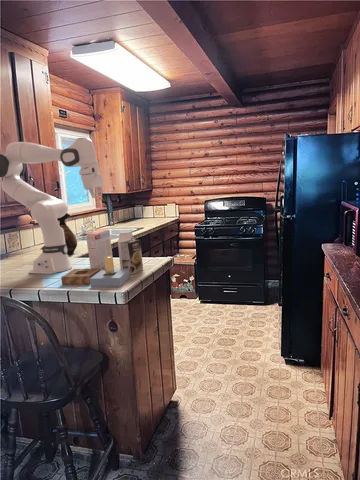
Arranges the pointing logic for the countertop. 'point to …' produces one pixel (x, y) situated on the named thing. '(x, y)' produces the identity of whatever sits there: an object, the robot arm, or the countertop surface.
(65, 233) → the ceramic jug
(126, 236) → the milk carton
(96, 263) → the cracker box
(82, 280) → the block
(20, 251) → the countertop surface
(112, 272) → the brass peg
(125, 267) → the coffee box
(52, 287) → the countertop surface
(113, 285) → the socket block
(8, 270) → the countertop surface
